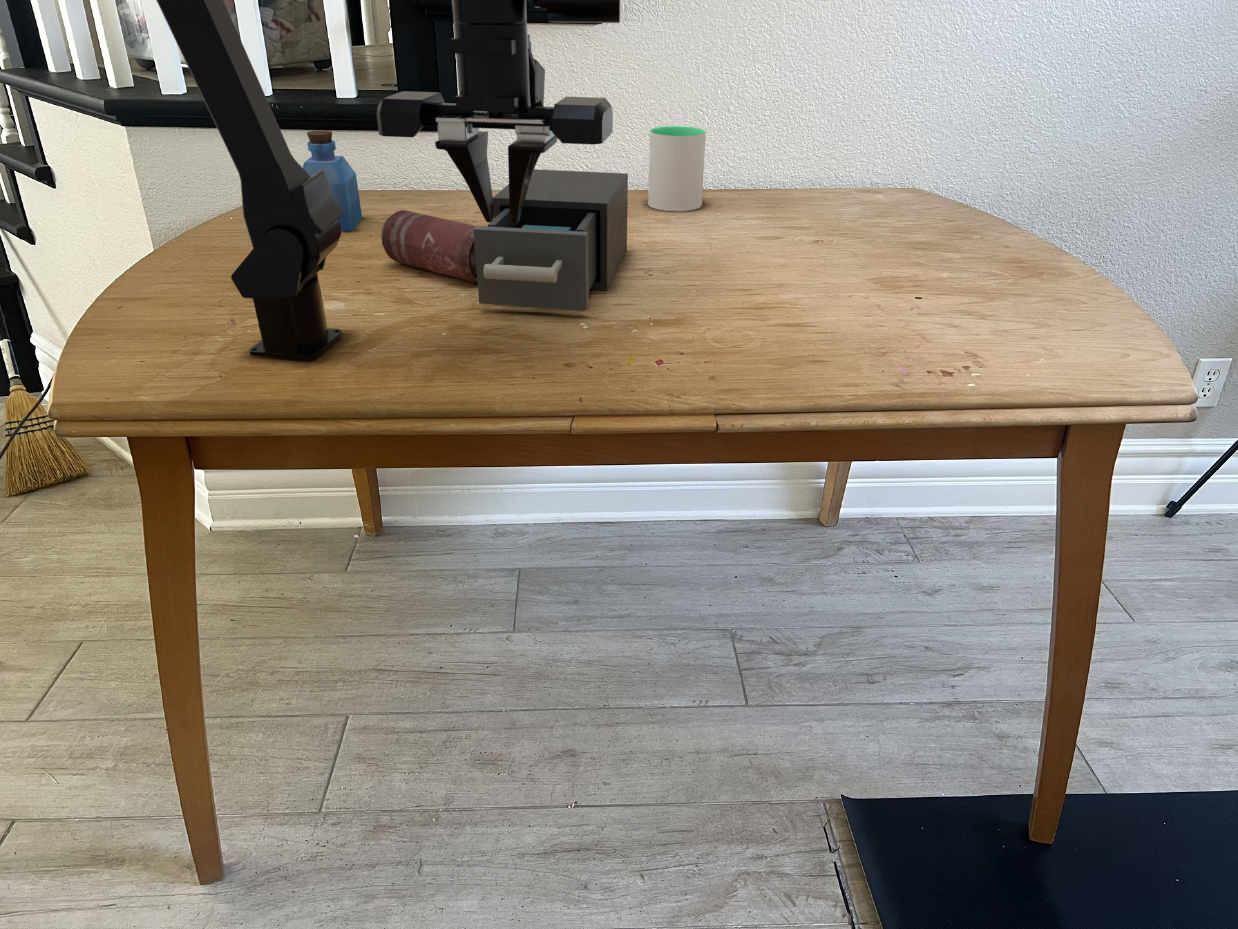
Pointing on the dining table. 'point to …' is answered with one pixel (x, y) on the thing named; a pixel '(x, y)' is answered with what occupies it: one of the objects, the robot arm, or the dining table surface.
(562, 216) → the drawer
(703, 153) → the mug
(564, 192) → the cabinet
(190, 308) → the dining table surface
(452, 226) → the can
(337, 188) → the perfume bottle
